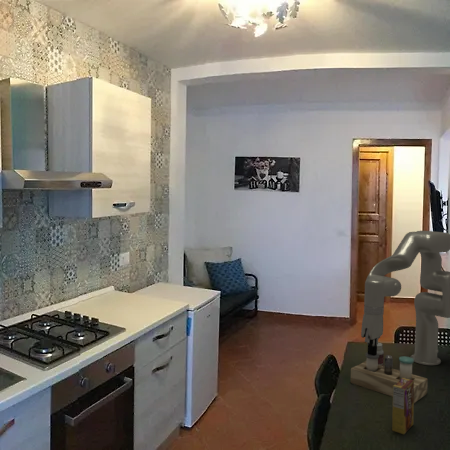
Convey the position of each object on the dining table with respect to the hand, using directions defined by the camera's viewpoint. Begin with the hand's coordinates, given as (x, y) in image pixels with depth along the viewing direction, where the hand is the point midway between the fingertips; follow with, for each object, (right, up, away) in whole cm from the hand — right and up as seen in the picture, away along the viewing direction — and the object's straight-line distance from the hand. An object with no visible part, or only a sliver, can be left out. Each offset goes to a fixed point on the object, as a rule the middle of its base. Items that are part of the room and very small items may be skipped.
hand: (372, 354), depth 194 cm
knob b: (+10, -7, -9) cm, 15 cm away
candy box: (-1, -15, -35) cm, 38 cm away
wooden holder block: (+5, -12, -4) cm, 14 cm away
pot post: (+5, -6, -4) cm, 9 cm away
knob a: (0, -8, +1) cm, 8 cm away
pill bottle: (+6, -11, +16) cm, 20 cm away
